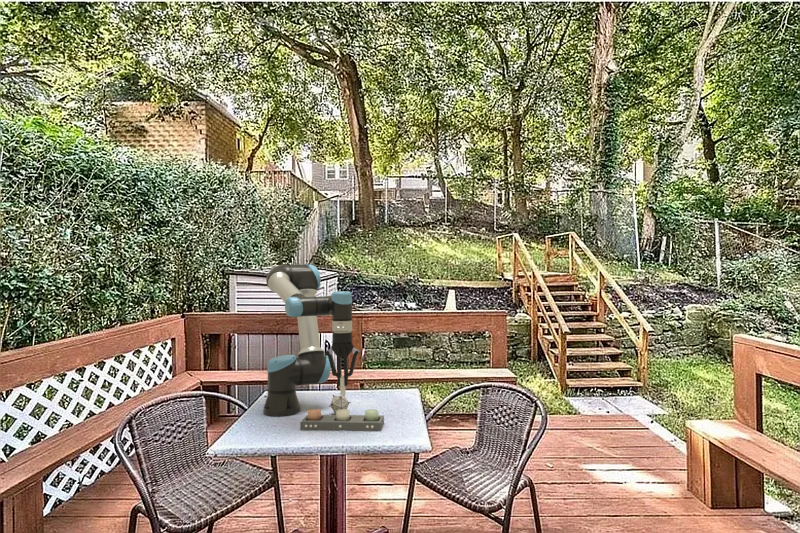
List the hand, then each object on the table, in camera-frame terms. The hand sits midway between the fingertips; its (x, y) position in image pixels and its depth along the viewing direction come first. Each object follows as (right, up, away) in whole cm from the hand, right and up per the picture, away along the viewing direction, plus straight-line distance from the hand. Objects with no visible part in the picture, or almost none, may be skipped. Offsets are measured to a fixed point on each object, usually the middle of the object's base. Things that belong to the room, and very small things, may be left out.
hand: (342, 394), depth 209 cm
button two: (+11, -10, -1) cm, 15 cm away
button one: (0, -10, 0) cm, 10 cm away
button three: (-11, -10, +1) cm, 15 cm away
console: (0, -12, 0) cm, 12 cm away
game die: (-3, -13, +20) cm, 24 cm away
